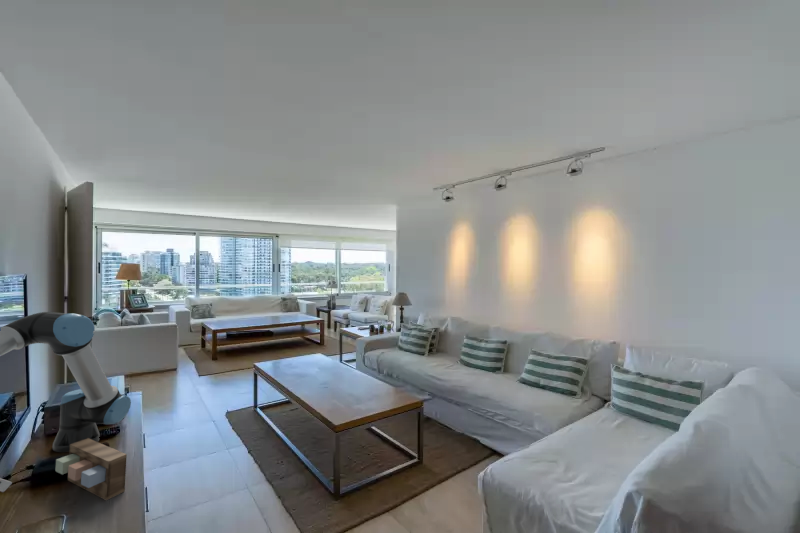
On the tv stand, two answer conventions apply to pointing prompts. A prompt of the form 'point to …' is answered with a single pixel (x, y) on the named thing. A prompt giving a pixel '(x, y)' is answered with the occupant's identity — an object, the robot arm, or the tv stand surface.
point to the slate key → (93, 476)
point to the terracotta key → (78, 469)
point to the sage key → (66, 463)
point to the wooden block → (109, 460)
